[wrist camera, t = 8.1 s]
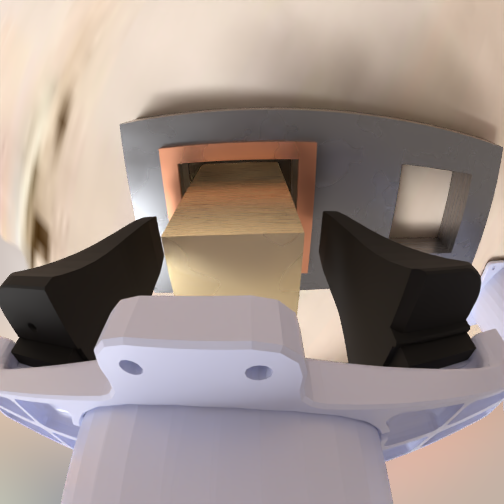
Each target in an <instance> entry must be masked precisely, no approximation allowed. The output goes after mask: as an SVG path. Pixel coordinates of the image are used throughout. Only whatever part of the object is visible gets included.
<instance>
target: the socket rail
mask: <svg viewBox="0 0 504 504" xmlns="http://www.w3.org/2000/svg"><path fill="white" fill-rule="evenodd" d="M120 131H121V139H122V146H123V153H124V159H125V166H126V172H127V178H128V183H129V189H130V194H131V199H132V204H133V209H134V214H135V218H136V220H138V219H140V218H143V217H153V216H156V217H157V222H158V227H159V232H160V237H161V236H162V234H163V232H164V230H165V228H166V226H167V225H168V223H169V221H170V219H171V217H172V215H173V214H174V212H175V210H176V208H177V207H178V205H179V203H180V201H181V200H182V198H183V196H184V194H185V193H186V191H187V189H188V187H189V186H190V176H189V166H188V163H194V162H208V161H226V160H253V159H292V164H291V197H292V200H293V203H294V205H295V208H296V211H297V213H298V216H299V219H300V221H301V224H302V227H303V230H304V232H305V235H304V248H303V259H302V270H301V281H300V290H312V289H330V288H329V285H328V283H327V280H326V277H325V275H324V272H323V269H322V265H321V261H320V256H319V244H320V235H321V225H322V214H323V211H338V212H340V213H342V214H344V215H346V216H348V217H350V218H351V219H353V220H355V221H356V222H358V223H360V224H362V225H363V226H365V227H367V228H369V229H370V230H372V231H374V232H376V233H378V234H380V235H382V236H383V237H386V238H388V239H390V240H392V241H394V242H397V243H399V244H401V245H404V246H406V247H409V248H412V249H415V250H418V251H421V252H424V253H428V254H431V255H435V256H439V257H443V258H449V259H455V260H461V261H466V262H469V263H471V265H472V262H473V259H474V257H475V254H476V251H477V249H478V246H479V243H480V240H481V237H482V234H483V231H484V228H485V225H486V222H487V218H488V215H489V211H490V208H491V204H492V200H493V196H494V192H495V188H496V183H497V179H498V174H499V168H500V163H501V157H502V151H503V147H501V146H499V145H497V144H494V143H492V142H489V141H487V140H485V139H481V138H478V137H475V136H472V135H468V134H465V133H461V132H458V131H454V130H450V129H446V128H442V127H438V126H434V125H430V124H425V123H420V122H415V121H410V120H405V119H399V118H394V117H387V116H381V115H374V114H366V113H358V112H349V111H339V110H326V109H310V108H232V109H215V110H203V111H192V112H183V113H174V114H167V115H160V116H153V117H147V118H141V119H135V120H132V121H129V122H126V123H122V124H120ZM402 164H407V165H415V166H423V167H430V168H437V169H444V170H450V171H453V174H452V179H451V184H450V189H449V194H448V198H447V203H446V207H445V211H444V215H443V219H442V223H441V226H440V230H439V233H438V237H437V238H389V234H390V230H391V225H392V220H393V215H394V210H395V205H396V200H397V194H398V188H399V182H400V175H401V168H402ZM161 242H162V240H161ZM162 247H163V245H162ZM163 252H164V250H163ZM154 292H155V293H173V289H172V285H171V281H170V277H169V273H168V268H167V264H166V259H165V255H164V260H163V264H162V268H161V272H160V275H159V278H158V280H157V283H156V285H155V288H154Z"/></svg>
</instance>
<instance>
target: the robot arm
mask: <svg viewBox="0 0 504 504" xmlns="http://www.w3.org/2000/svg"><path fill="white" fill-rule="evenodd" d="M319 256H320V261H321V265H322V269H323V272H324V275H325V277H326V280H327V283H328V285H329V288H330V290H331V293H332V296H333V298H334V301H335V304H336V306H337V309H338V312H339V316H340V320H341V324H342V329H343V334H344V339H345V344H346V350H347V356H348V363H341V362H332V361H325V360H317V359H310V358H305V354H304V348H303V343H302V337H301V331H300V327H299V323H298V319H297V316H296V313H295V312H294V311H293V310H291V309H290V308H288V307H287V306H286V305H284V304H283V303H282V302H280V301H279V300H276V299H270V298H264V297H258V296H252V295H241V296H151V295H152V293H153V290H154V288H155V285H156V283H157V280H158V278H159V275H160V272H161V268H162V264H163V260H164V252H163V247H162V242H161V237H160V232H159V227H158V222H157V217H156V216H153V217H143V218H140V219H138V220H136V221H134V222H132V223H130V224H129V225H127V226H125V227H123V228H122V229H120V230H119V231H117V232H115V233H114V234H112V235H110V236H108V237H107V238H105V239H103V240H101V241H100V242H98V243H96V244H94V245H92V246H91V247H89V248H87V249H84V250H82V251H80V252H78V253H76V254H74V255H71V256H68V257H66V258H64V259H61V260H59V261H56V262H53V263H50V264H47V265H43V266H40V267H36V268H32V269H28V270H24V271H19V272H14V273H12V274H10V275H9V277H8V278H7V279H6V280H5V281H4V283H3V284H2V285H1V286H0V307H1V309H2V311H3V313H4V315H5V316H6V318H7V320H8V321H9V323H10V324H11V326H12V328H13V329H14V330H15V332H16V333H17V335H18V337H19V339H18V340H17V342H16V343H15V342H13V341H12V340H10V339H8V338H5V337H1V336H0V411H1V412H2V413H3V414H4V415H5V416H7V417H8V418H10V419H12V420H14V421H16V422H18V423H20V424H22V425H23V426H25V427H28V428H29V429H31V430H33V431H35V432H37V433H39V434H41V435H43V436H45V437H47V438H49V439H51V440H53V441H55V442H57V443H60V444H62V445H64V446H66V447H69V448H71V449H73V453H72V457H71V461H70V465H69V469H68V473H67V477H66V482H65V486H64V491H63V496H62V501H61V504H393V500H392V494H391V489H390V484H389V479H388V475H387V469H386V464H385V462H386V461H389V460H392V459H394V458H397V457H400V456H402V455H405V454H408V453H411V452H413V451H415V450H418V449H420V448H422V447H425V446H427V445H429V444H431V443H434V442H436V441H438V440H440V439H443V438H444V437H447V436H449V435H451V434H453V433H455V432H457V431H459V430H461V429H463V428H465V427H467V426H469V425H471V424H473V423H474V422H476V421H478V420H480V419H482V418H484V417H486V416H487V415H488V414H490V413H491V412H492V411H493V410H494V409H495V408H496V407H497V406H498V405H499V404H500V403H501V402H502V401H503V400H504V260H500V261H490V262H488V263H487V265H486V267H485V269H484V272H483V274H482V276H480V275H479V273H478V271H477V270H476V269H475V268H474V267H473V266H472V265H471V263H469V262H466V261H461V260H455V259H449V258H443V257H439V256H435V255H431V254H428V253H424V252H421V251H418V250H415V249H412V248H409V247H406V246H404V245H401V244H399V243H397V242H394V241H392V240H390V239H388V238H386V237H383V236H382V235H380V234H378V233H376V232H374V231H372V230H370V229H369V228H367V227H365V226H363V225H362V224H360V223H358V222H356V221H355V220H353V219H351V218H350V217H348V216H346V215H344V214H342V213H340V212H338V211H323V214H322V225H321V235H320V244H319ZM475 324H477V325H478V326H479V328H480V329H481V331H482V332H481V333H478V334H476V335H475V336H474V337H472V338H470V337H469V335H468V333H467V332H468V331H469V330H470V326H472V325H475ZM503 409H504V402H503Z"/></svg>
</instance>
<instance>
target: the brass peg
mask: <svg viewBox="0 0 504 504" xmlns="http://www.w3.org/2000/svg"><path fill="white" fill-rule="evenodd" d="M304 235H305V232H304V230H303V227H302V224H301V221H300V219H299V216H298V213H297V211H296V208H295V205H294V203H293V200H292V197H291V195H290V192H289V189H288V187H287V184H286V182H285V179H284V177H283V174H282V172H281V169H280V167H279V164H278V162H241V163H218V164H202V166H201V167H200V169H199V171H198V172H197V174H196V176H195V177H194V179H193V181H192V182H191V184H190V186H189V187H188V189H187V191H186V193H185V194H184V196H183V198H182V200H181V201H180V203H179V205H178V207H177V208H176V210H175V212H174V214H173V215H172V217H171V219H170V221H169V223H168V225H167V226H166V228H165V230H164V232H163V234H162V236H161V240H162V245H163V250H164V255H165V259H166V264H167V268H168V273H169V277H170V281H171V285H172V289H173V294H174V296H241V295H252V296H258V297H264V298H270V299H276V300H279V301H280V302H282V303H283V304H284V305H286V306H287V307H288V308H290V309H291V310H293V311H294V312H295V313H296V316H297V309H298V300H299V291H300V281H301V270H302V259H303V248H304Z"/></svg>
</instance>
